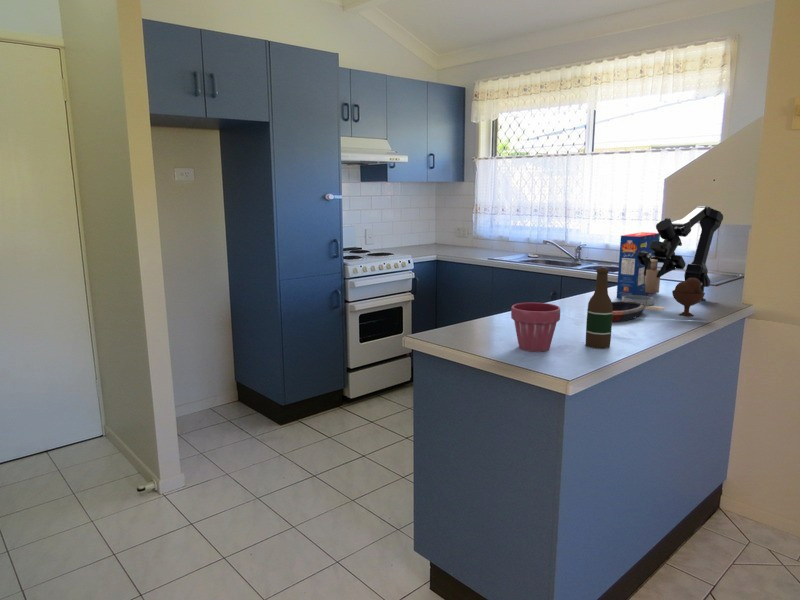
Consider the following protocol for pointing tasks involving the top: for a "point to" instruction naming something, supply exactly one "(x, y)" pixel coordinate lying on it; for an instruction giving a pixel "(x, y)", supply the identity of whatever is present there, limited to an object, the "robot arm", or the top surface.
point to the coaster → (654, 308)
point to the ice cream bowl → (688, 294)
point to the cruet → (652, 278)
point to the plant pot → (535, 324)
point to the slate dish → (639, 299)
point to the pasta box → (633, 263)
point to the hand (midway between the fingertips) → (650, 276)
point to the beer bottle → (599, 314)
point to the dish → (626, 310)
